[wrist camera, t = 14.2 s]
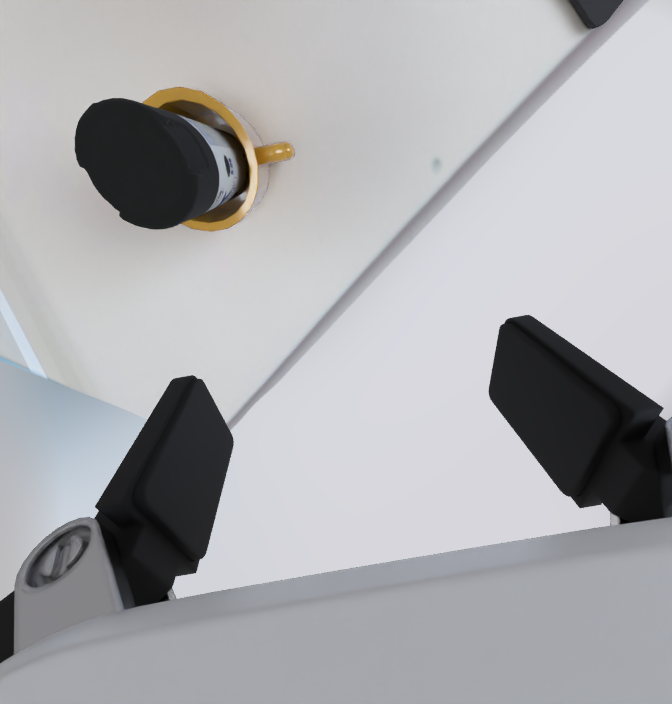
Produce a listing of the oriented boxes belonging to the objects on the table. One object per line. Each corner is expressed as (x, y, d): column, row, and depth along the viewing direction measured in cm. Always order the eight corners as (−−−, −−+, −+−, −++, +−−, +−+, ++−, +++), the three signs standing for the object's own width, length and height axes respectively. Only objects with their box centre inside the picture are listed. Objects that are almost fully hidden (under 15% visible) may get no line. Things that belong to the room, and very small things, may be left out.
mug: (197, 221, 37) (166, 240, 29) (156, 116, 31) (102, 101, 23) (305, 201, 37) (305, 214, 29) (284, 91, 31) (276, 67, 23)
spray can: (215, 208, 36) (136, 250, 19) (177, 146, 32) (40, 132, 16) (262, 183, 35) (223, 205, 18) (229, 115, 31) (142, 66, 15)
